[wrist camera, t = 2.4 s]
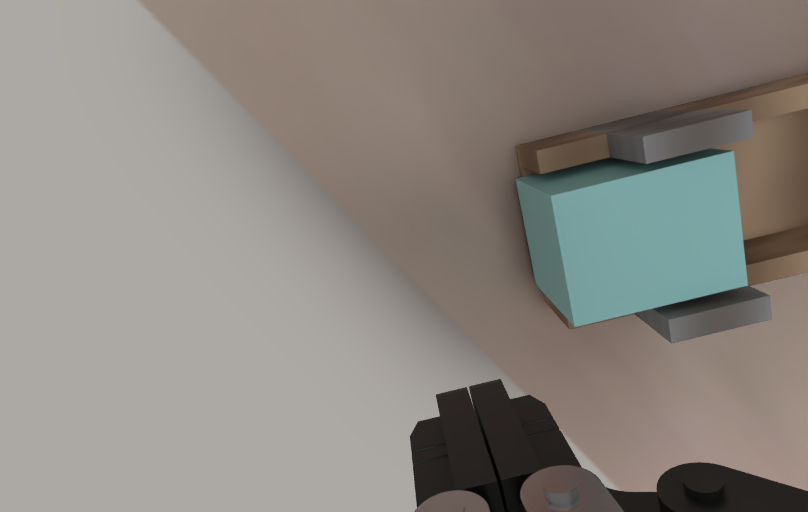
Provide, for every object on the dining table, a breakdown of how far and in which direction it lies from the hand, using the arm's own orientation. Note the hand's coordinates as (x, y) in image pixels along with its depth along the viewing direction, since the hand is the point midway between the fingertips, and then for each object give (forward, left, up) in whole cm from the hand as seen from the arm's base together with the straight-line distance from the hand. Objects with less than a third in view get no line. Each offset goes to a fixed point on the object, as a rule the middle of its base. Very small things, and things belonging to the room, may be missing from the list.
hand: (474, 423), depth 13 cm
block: (-9, 0, -16) cm, 18 cm away
